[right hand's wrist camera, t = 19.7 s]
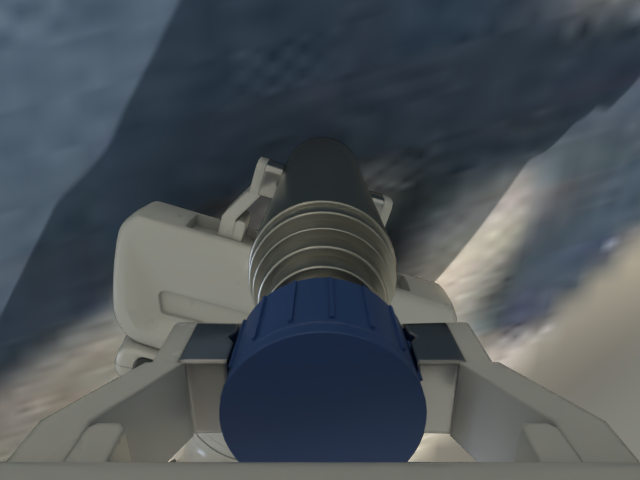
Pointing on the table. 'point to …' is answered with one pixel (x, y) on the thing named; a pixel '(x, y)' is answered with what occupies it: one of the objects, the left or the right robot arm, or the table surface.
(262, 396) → the cap
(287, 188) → the bottle
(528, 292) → the table surface
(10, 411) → the table surface
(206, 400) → the right robot arm
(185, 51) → the table surface
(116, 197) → the table surface
